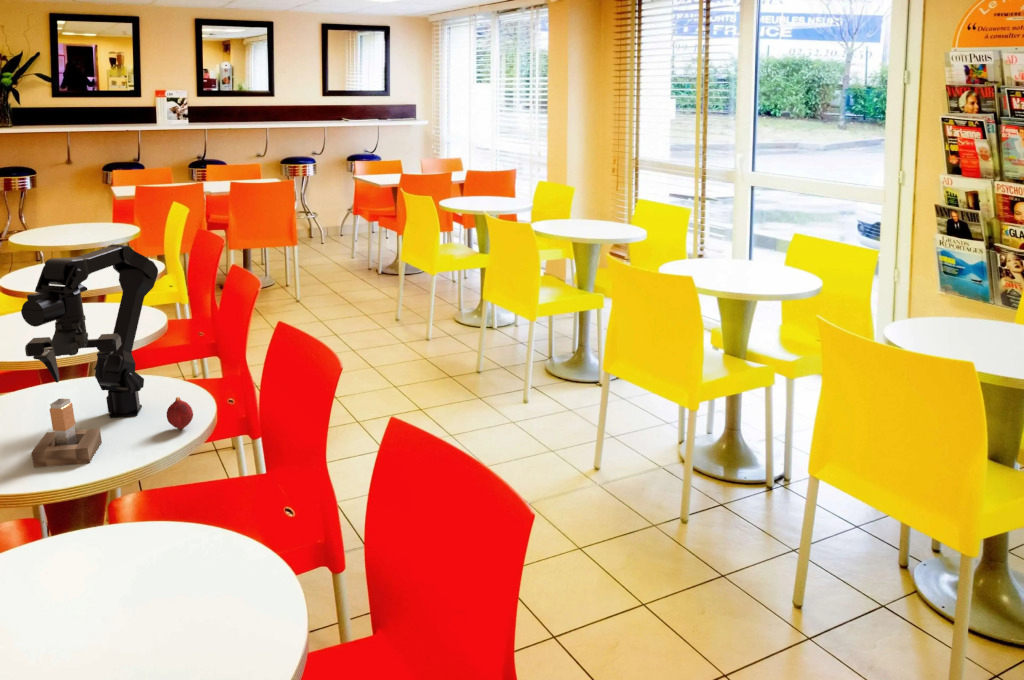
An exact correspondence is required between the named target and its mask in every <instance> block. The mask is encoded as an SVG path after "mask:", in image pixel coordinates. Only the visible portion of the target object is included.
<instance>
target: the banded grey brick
mask: <svg viewBox="0 0 1024 680" xmlns="http://www.w3.org/2000/svg"><path fill="white" fill-rule="evenodd" d="M49 406H50V408H49V414H50V415H49V416H50V420H51V427H52V432H55V436H56V443H57V446H63V445H75V444H77V440H76V434H75V430H76V428H75V427H76V426H75V425H76V421H75V420H76V419H75V414H74V413H75V411H74V408H73V403H72V402H71V399H70V398H58V399H57V400H55V401H53V402H52V403H50V404H49Z"/></svg>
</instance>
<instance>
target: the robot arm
mask: <svg viewBox="0 0 1024 680" xmlns="http://www.w3.org/2000/svg"><path fill="white" fill-rule="evenodd" d="M110 267H112V268H113V270H114V271H115V272H117V273H118V274H119V275H118V283H119V285H120V288H121V290H122V295H121V299H120V302H119V306H118V312H117V314H116V315H117V316H116V320H115V324H114V328H113V332H112V333H102V334H100V336H98V337H97V338H92V339H90V338H89V332H87V325H86V314H85V312H84V307H83V305H84V304H83V300H82V293H83V292H84V293H85V292H87V291H88V287H86V286H84V285H83V284H82V283H83V282H85V281H86V280H87V279H88V278H89V275H91V274H92V273H96V272H98V271H102V270H104V269H107V268H110ZM39 275H40V276H39V278H38V280H37V284H36V286H35V289H34V292H35V293H29V294H27V295H26V298H27V300H26V301H25V302H24V303H22V306H21V307H22V308H21V310H20V311H21V312H20V313H21V316H22V318H23V320H24V321H25V323H26V324H28V325H29V326H31V327H34V328H36V327H39V326H40V327H41V326H43V325H46V324H48V323H51V322H54V328H55V329H54V334H53V336H52V338H51V337H50V336H47V337H46V336H45V337H33V338H32V339H31V340H30V341H29V342H28V343H26V345H25V347H24V349H25V350H24V352H25V356H26V357H32V358H33V359H34V360H39V362H42V363H43V365H44V366H45V367H46V368H47V370H48V371H49V374H50V375H51V377H52V378H53V379H54V381H55V383H59V382H60V373H59V372H60V371H59V368H58V366H59V365H58V362H57V357H61V356H75V355H77V354H78V353H79V349H90V348H94V349H95V348H96V350H97V353H96V357H97V358H96V359H97V360H96V364H95V366H94V369H93V370H94V371H95V373H94V377H95V379H96V381H97V383H98V385H99V387H100V389H101V391H107V396H106V399H105V400H106V405H107V412H108V413H109V415H108V416H109V418H121V417H123V418H124V417H135V416H138V415H139V413H140V412H141V409H142V408H143V405H142V404H141V403H140V395H139V392H140V391H141V389H143V388H144V387H145V386H144V384H145V378H144V377H143V376H141V375H140V374H138V373H137V372H136V361H135V359H134V356H133V348H134V343H135V339H136V334H137V331H138V325H139V321H140V317H141V313H142V312H141V311H142V310H143V309H142V308H143V305H144V300H145V296H147V295H148V294H149V293H150V291H152V289H153V288H154V287H155V283H156V280H157V278H158V275H159V269H158V266H157V265H156V263H155V262H154V261H153V260H150V258H148V257H146V256H145V255H143V254H141V253H139V252H137V251H135V250H134V249H133V248H132V247H130V246H129V245H126V244H114V243H112V244H109V245H107V246H106V247H103V248H100V249H97V250H94V251H91V252H88V253H85V254H82V255H79V256H74V257H56V258H49V259H47V260H46V261H45V262H44V266H43V268H42V270H41V272H40V274H39Z"/></svg>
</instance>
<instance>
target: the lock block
mask: <svg viewBox="0 0 1024 680" xmlns="http://www.w3.org/2000/svg"><path fill="white" fill-rule="evenodd" d="M75 434H76V440H77V444H75V445H63V446H57V443H56V436H55V431H47V432H46V433H44V435H43V436H42V438H41V439H40V441H39V442H38V443H37V444H36V445H35V447H34V448H33V449H32V451H31V452H30V453H31V459H32V465H33V468H34V469H35V468H44V467H46V468H47V467H56V466H58V465H59V466H69V465H81V464H82V463H83V464H90V463H91V462H92V460H93V459H92V458H94V457H95V455H96V453H97V452H98V450H99V448H100V447H101V445H102V443H103V442H102V440H103V439H102V436H101V435H102V434H101V428H100V427H99V428H87V429H86V428H85V429H75ZM99 446H100V447H99ZM96 451H97V452H96ZM94 454H95V455H94ZM93 456H94V457H93ZM90 461H91V462H90ZM83 464H82V465H83Z"/></svg>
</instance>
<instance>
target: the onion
mask: <svg viewBox="0 0 1024 680" xmlns="http://www.w3.org/2000/svg"><path fill="white" fill-rule="evenodd" d="M193 417H194V410H193V408H192V406H191V405H190V404H189V403H188V402H186V401H184V400H182V399H181V397H179V396H176V398H175V401H174V402H172V403H171V404H170V405H169V407H168V408H167V411H166V419H167V422H168V423H169V424H170V425H171V426H172V427H174V428H176V429H178V430H184V429H185V428H186V427H188V426H189V424H190V423H191V421H192V420H193V419H194V418H193Z"/></svg>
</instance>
